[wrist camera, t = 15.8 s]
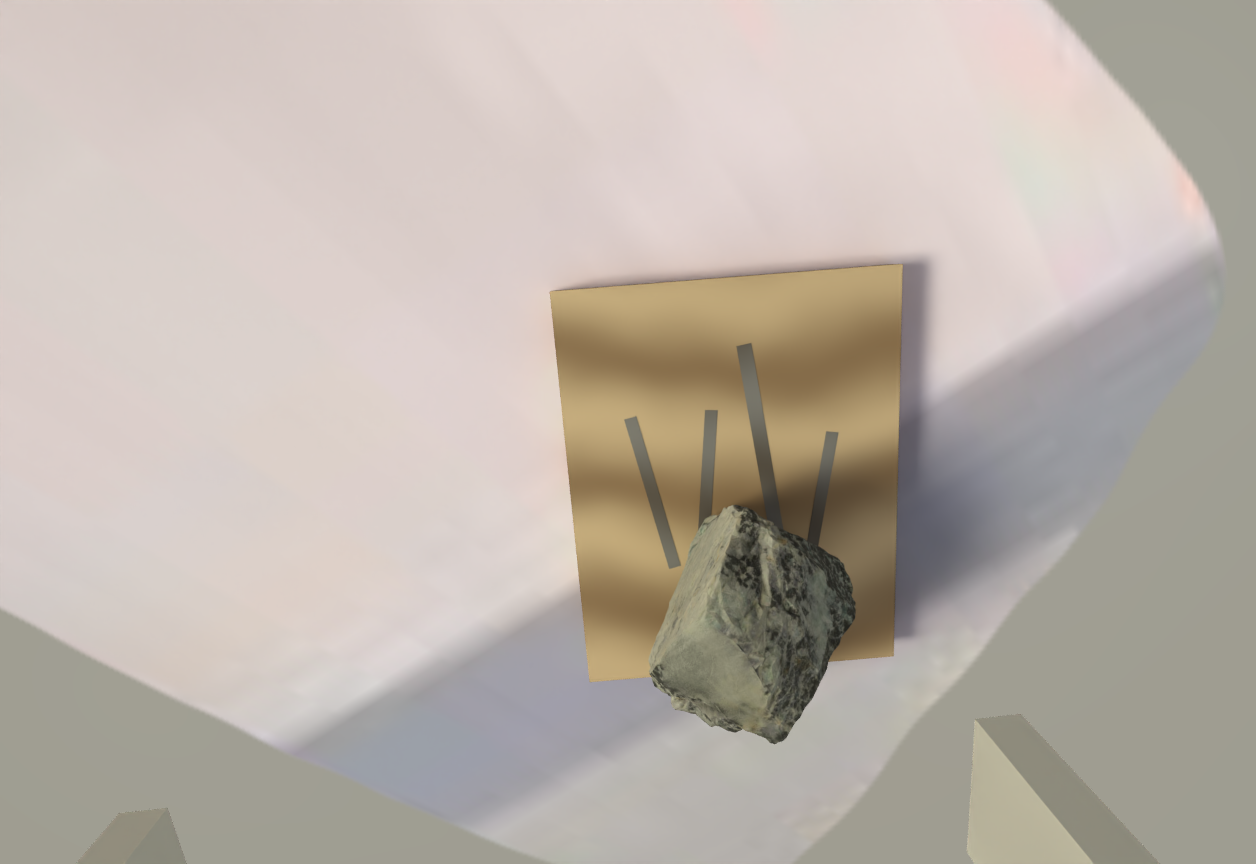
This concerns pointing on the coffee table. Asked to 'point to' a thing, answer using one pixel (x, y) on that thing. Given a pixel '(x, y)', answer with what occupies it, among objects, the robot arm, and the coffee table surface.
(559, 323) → the board
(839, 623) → the stone
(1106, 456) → the coffee table surface
